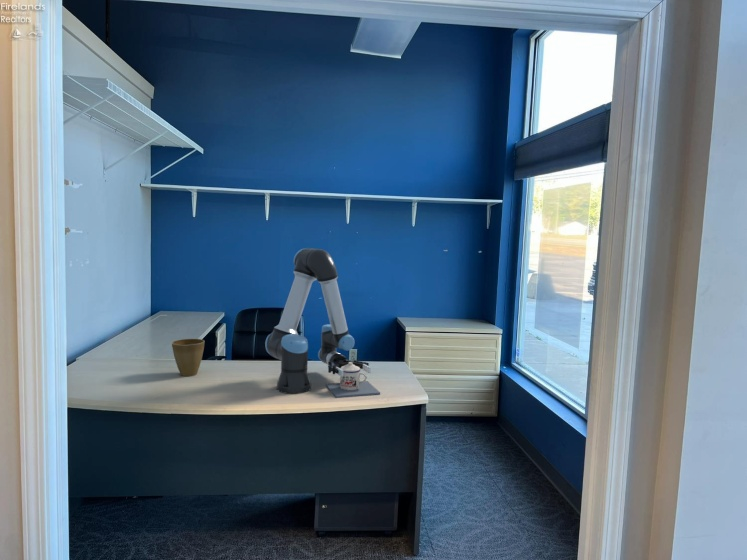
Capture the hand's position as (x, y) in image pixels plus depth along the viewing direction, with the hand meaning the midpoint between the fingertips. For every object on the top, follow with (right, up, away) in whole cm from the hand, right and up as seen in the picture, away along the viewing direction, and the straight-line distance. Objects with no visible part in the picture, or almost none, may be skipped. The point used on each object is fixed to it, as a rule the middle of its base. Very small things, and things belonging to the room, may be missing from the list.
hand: (356, 372), depth 234 cm
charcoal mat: (-2, -9, +3) cm, 9 cm away
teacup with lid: (-2, -8, +3) cm, 9 cm away
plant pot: (-82, -5, +20) cm, 84 cm away
